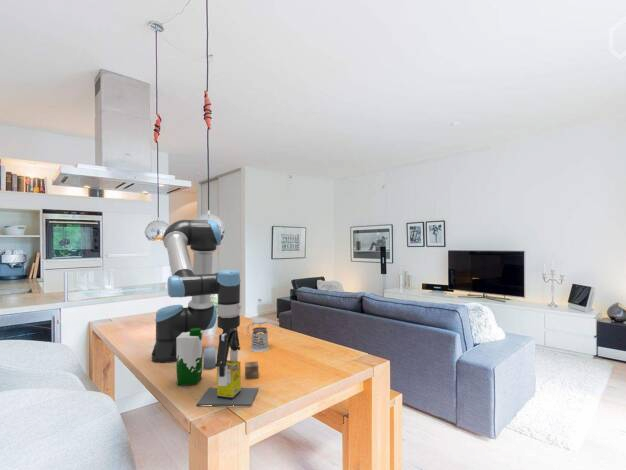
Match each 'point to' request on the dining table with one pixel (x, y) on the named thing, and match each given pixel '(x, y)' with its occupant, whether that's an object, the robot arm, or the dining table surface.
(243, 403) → the charcoal mat
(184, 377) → the soya milk
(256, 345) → the grey wire-handled lantern
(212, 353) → the slate-blue pebble
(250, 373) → the walnut block
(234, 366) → the supplement box
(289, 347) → the dining table surface
